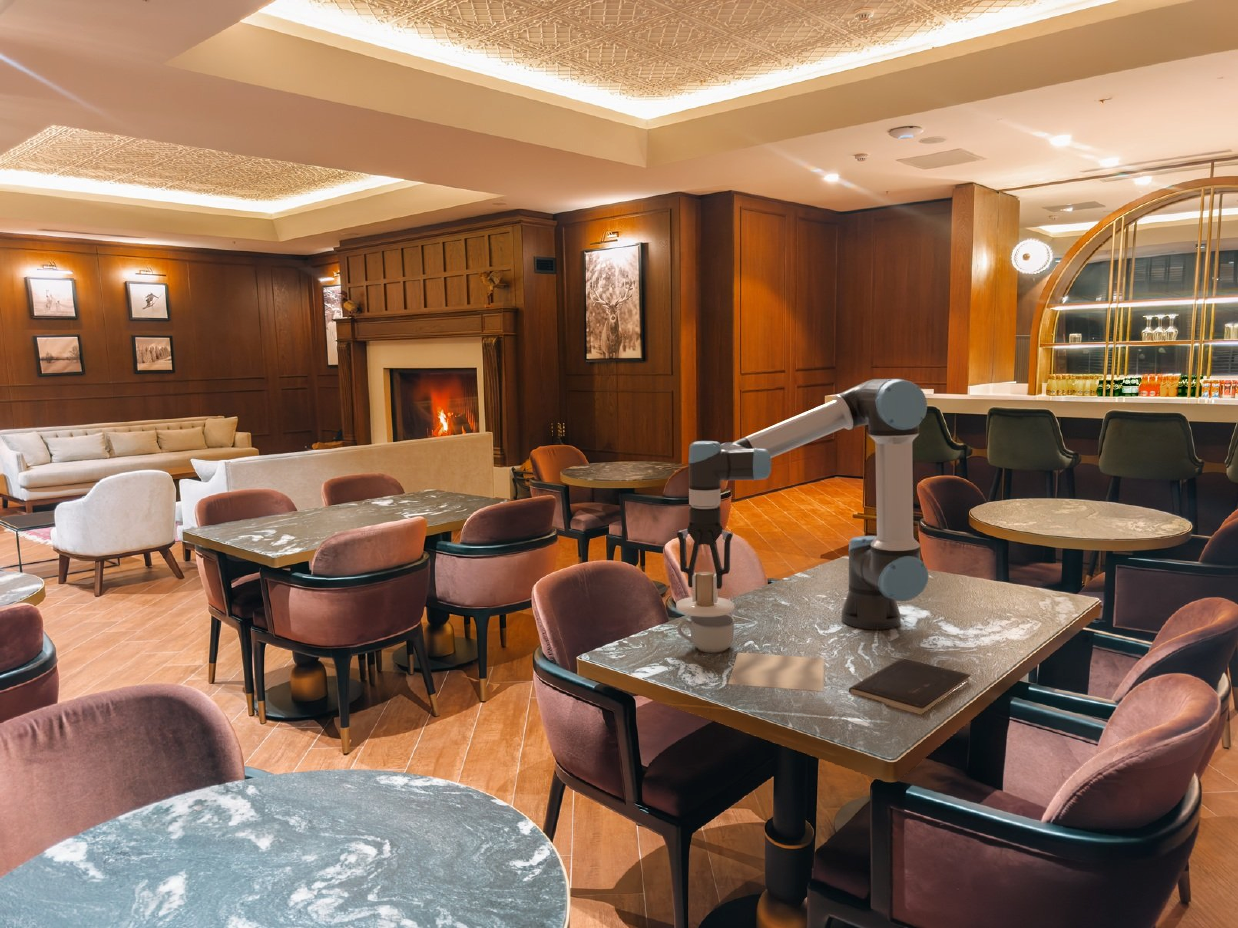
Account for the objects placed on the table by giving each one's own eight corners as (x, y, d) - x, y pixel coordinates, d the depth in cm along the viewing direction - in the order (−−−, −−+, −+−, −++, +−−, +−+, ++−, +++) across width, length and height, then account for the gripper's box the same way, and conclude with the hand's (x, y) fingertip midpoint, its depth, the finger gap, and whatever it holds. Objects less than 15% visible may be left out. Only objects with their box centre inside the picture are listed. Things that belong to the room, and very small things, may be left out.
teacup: (733, 642, 206) (733, 611, 205) (735, 657, 195) (735, 624, 194) (677, 641, 207) (677, 610, 206) (676, 656, 196) (676, 624, 195)
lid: (737, 601, 205) (737, 568, 204) (731, 618, 191) (731, 582, 190) (681, 598, 208) (681, 565, 207) (671, 614, 195) (671, 579, 194)
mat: (823, 659, 192) (823, 658, 192) (823, 692, 173) (823, 691, 173) (737, 654, 197) (737, 652, 197) (728, 685, 178) (728, 683, 178)
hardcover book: (969, 684, 177) (970, 674, 177) (922, 718, 161) (922, 707, 161) (899, 666, 188) (899, 657, 188) (848, 696, 172) (848, 686, 172)
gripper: (743, 504, 198) (742, 598, 201) (671, 502, 202) (672, 594, 205) (739, 509, 191) (739, 607, 194) (666, 507, 195) (667, 603, 198)
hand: (705, 600), depth 199 cm, fingers closed on lid, 4 cm apart
